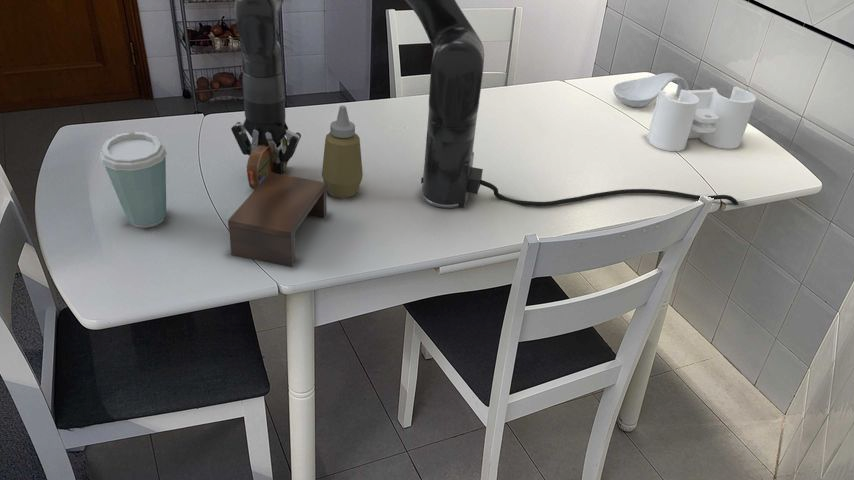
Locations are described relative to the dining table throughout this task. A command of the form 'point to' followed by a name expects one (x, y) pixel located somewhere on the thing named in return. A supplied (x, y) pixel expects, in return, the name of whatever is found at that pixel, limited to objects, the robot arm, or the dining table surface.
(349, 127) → the squeeze bottle
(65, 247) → the dining table surface
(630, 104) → the spoon rest
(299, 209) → the stand
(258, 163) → the tin
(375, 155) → the dining table surface
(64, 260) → the dining table surface
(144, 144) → the disposable coffee cup
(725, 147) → the bracket
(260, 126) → the robot arm
